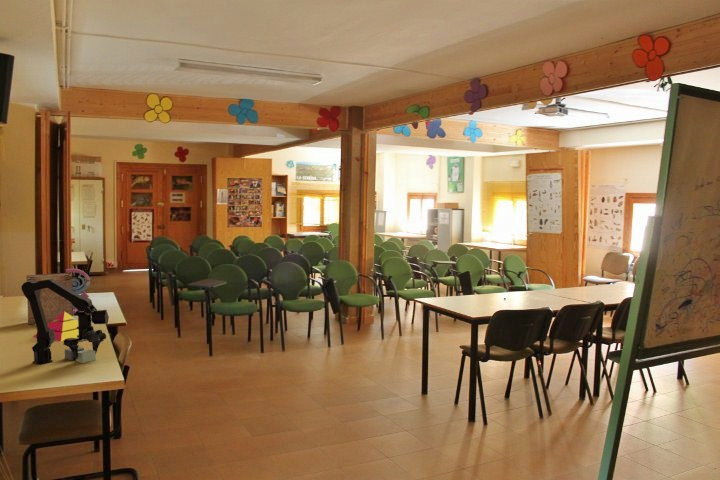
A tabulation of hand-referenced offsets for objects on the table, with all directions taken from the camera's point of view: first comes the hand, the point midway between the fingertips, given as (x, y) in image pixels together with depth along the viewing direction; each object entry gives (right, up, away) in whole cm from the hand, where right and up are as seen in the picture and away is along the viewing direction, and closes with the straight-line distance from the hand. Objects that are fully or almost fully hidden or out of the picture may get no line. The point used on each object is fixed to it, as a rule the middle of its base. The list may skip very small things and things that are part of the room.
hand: (85, 356), depth 284 cm
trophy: (-66, +6, +128) cm, 144 cm away
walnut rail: (-4, -2, +3) cm, 5 cm away
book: (-64, +4, +91) cm, 112 cm away
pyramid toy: (-37, +1, +55) cm, 66 cm away
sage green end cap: (0, -2, 0) cm, 2 cm away
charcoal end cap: (-8, -2, +5) cm, 10 cm away
